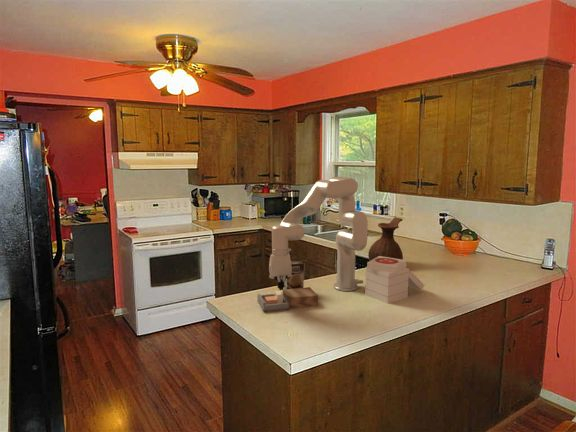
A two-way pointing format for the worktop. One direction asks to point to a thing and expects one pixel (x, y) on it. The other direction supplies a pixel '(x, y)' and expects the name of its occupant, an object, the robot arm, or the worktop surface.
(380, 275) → the pizza boxes
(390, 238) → the jug
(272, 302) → the tile
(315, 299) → the wooden square board
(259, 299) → the box
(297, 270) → the coffee box
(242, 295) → the worktop surface
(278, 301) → the tile
